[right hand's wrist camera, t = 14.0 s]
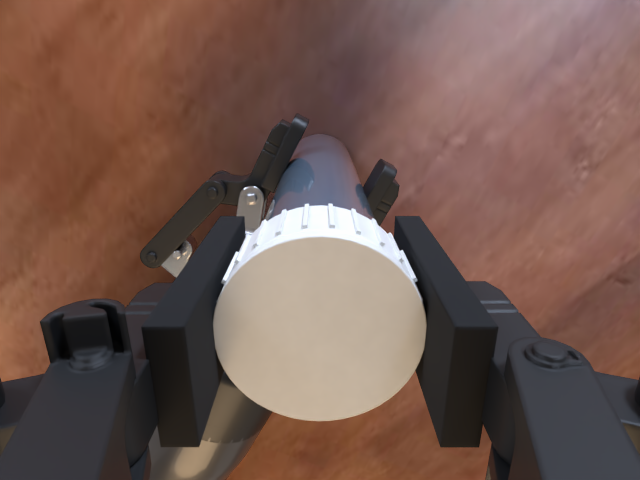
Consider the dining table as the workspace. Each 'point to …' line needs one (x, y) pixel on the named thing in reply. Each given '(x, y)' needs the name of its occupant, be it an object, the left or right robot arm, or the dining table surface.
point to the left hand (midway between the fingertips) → (345, 142)
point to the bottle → (320, 178)
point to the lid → (319, 315)
